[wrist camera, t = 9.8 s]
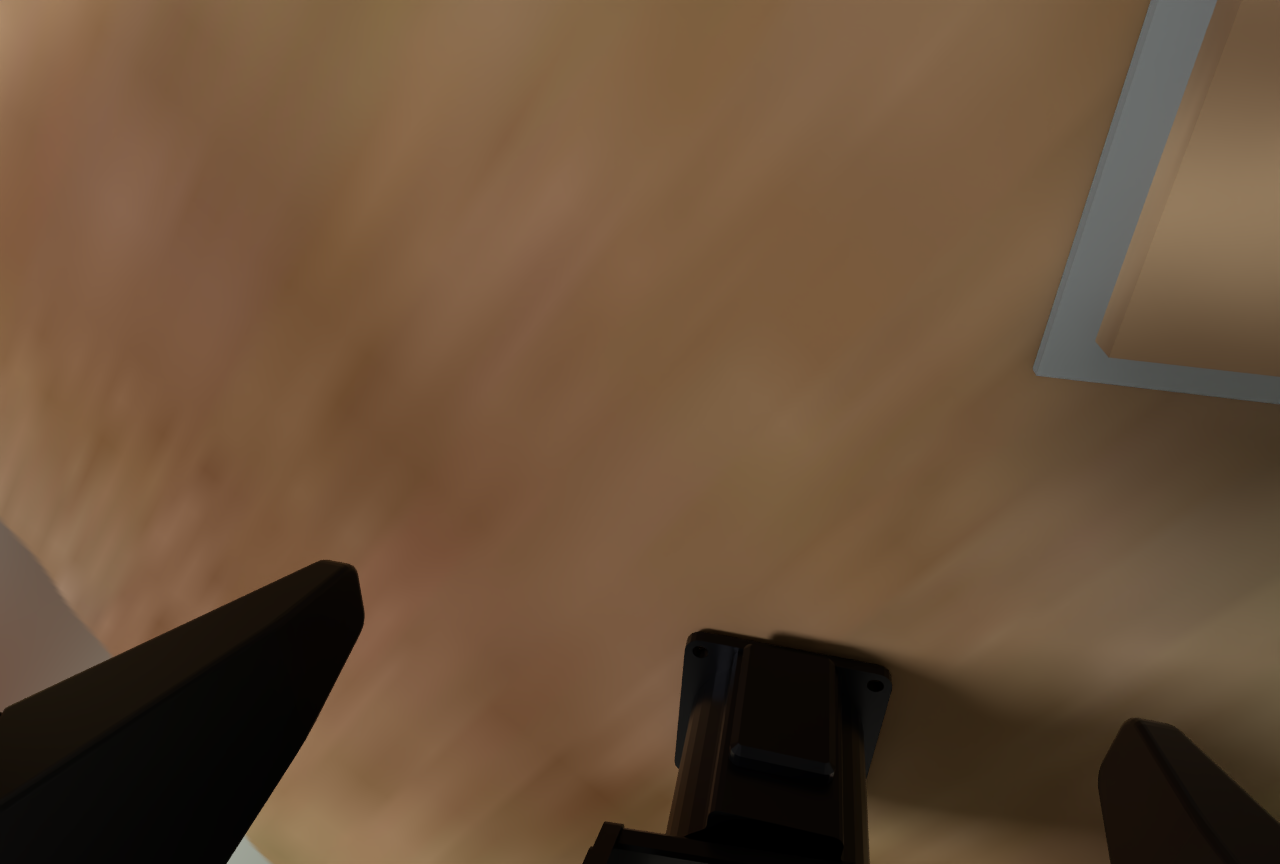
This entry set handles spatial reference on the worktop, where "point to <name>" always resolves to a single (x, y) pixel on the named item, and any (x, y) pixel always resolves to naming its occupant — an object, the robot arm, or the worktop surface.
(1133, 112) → the mat
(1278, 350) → the lid
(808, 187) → the worktop surface
